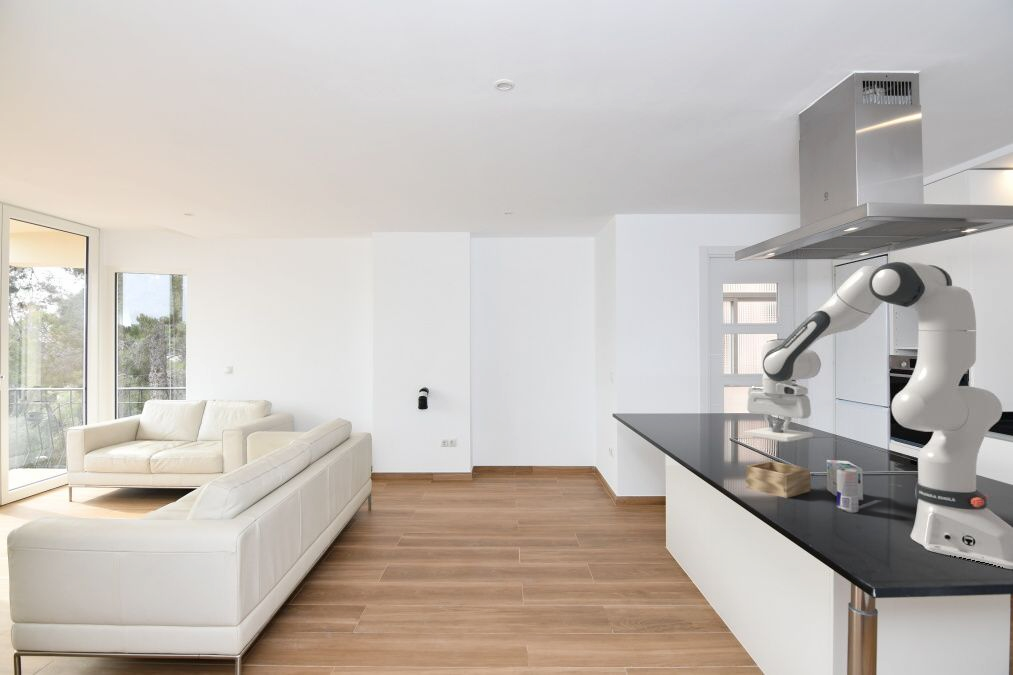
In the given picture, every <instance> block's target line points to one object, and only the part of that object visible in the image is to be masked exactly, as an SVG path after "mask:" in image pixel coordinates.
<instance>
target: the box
mask: <svg viewBox="0 0 1013 675" xmlns="http://www.w3.org/2000/svg"><path fill="white" fill-rule="evenodd" d="M811 487H812V486H811V468H807V467H802V466H797V465H792V464H787V463H783V462H777V461H772V460H768V461H763V462H762V461H761V462H759V463H754V464H749V465H746V466H745V488H746V489H750V490H754V491H758V492H760V493H761V492H762V493H765V494H769V495H772V496H773V495H774V496H777V497H780V498H781V497H782V498H785V499H788V498H792V497H795V496H799V495H801V494H805V493H809V492H811Z"/></svg>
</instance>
